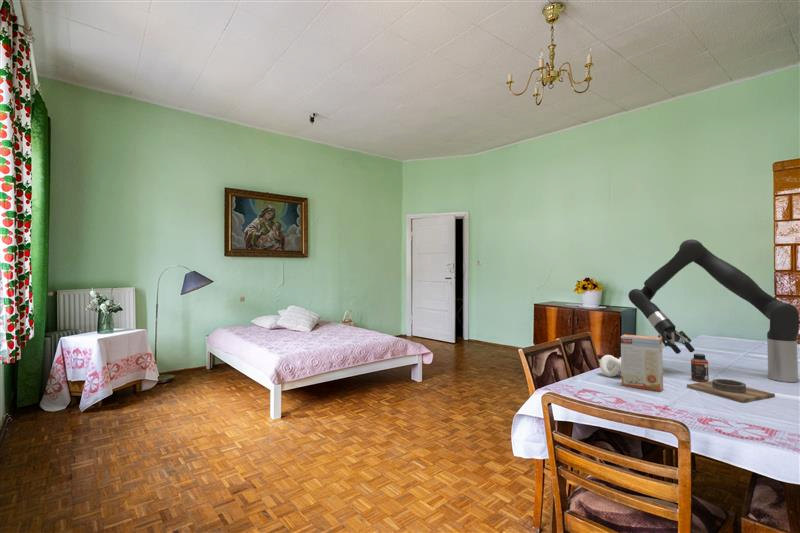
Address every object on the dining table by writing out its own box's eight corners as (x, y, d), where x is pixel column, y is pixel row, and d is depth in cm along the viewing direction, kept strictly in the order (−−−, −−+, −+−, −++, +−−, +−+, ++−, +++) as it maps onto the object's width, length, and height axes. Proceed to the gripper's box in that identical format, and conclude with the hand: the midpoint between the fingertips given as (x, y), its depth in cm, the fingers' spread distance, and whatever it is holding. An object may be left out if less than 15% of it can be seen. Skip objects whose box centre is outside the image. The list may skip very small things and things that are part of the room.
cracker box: (663, 388, 161) (662, 337, 161) (660, 392, 157) (659, 339, 157) (625, 382, 171) (624, 333, 171) (621, 385, 166) (620, 335, 166)
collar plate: (717, 382, 168) (717, 373, 168) (774, 396, 149) (774, 387, 149) (686, 387, 162) (686, 378, 162) (742, 402, 143) (742, 392, 143)
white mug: (638, 379, 175) (637, 358, 175) (613, 380, 173) (612, 360, 174) (620, 372, 186) (619, 353, 187) (596, 374, 185) (596, 354, 185)
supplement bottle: (711, 382, 168) (711, 355, 168) (695, 382, 169) (695, 355, 170) (703, 378, 174) (703, 352, 174) (688, 378, 175) (688, 352, 175)
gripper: (655, 319, 183) (680, 348, 173) (677, 317, 188) (703, 346, 177) (645, 328, 188) (668, 358, 178) (667, 327, 193) (691, 355, 182)
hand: (686, 352), depth 177 cm, fingers open, 8 cm apart
